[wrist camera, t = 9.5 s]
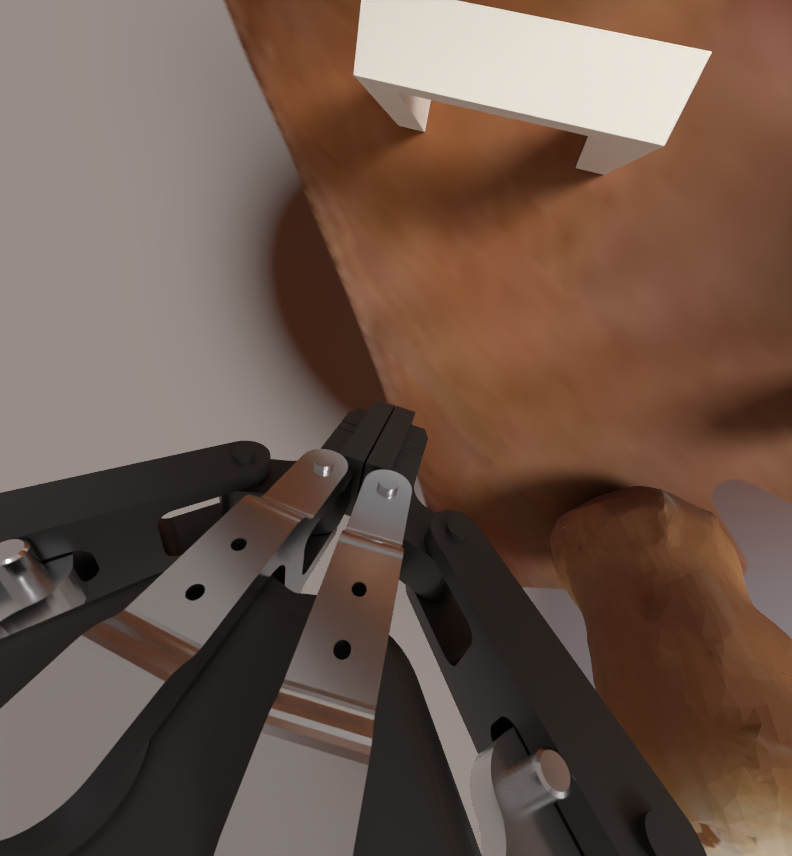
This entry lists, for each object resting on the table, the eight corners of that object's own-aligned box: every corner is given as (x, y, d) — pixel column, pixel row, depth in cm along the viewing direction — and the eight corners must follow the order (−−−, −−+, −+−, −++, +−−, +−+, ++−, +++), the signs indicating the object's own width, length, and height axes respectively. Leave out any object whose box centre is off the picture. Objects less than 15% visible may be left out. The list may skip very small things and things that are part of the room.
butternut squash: (599, 568, 41) (713, 922, 20) (518, 505, 39) (550, 822, 18) (723, 511, 34) (1109, 980, 13) (630, 431, 32) (901, 821, 11)
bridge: (408, 68, 23) (363, -19, 15) (629, 118, 22) (712, 52, 14) (398, 125, 25) (353, 74, 16) (603, 174, 23) (664, 146, 15)
